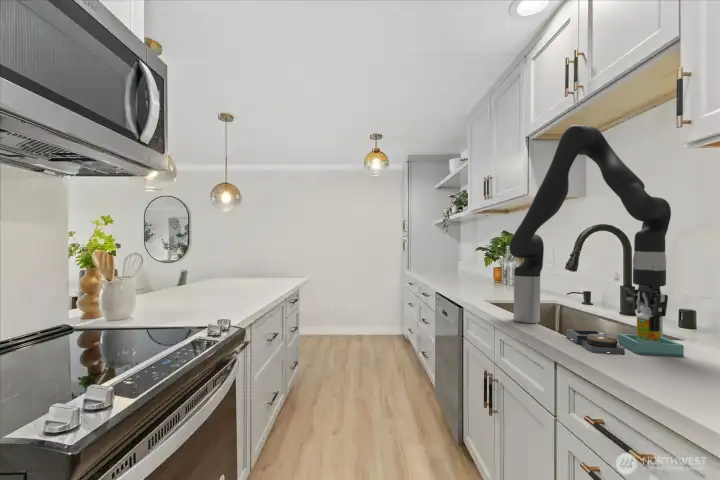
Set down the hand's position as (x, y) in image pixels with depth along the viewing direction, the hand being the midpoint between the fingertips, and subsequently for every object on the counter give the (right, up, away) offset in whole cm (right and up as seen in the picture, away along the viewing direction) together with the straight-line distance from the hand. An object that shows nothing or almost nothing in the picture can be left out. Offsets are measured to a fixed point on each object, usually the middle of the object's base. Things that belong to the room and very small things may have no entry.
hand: (648, 328), depth 111 cm
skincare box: (+9, -6, +11) cm, 16 cm away
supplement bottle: (0, -4, 0) cm, 4 cm away
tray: (0, -6, 0) cm, 6 cm away
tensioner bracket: (-12, -6, +5) cm, 14 cm away
